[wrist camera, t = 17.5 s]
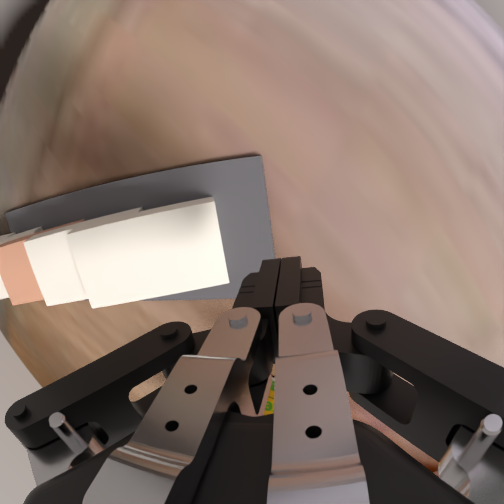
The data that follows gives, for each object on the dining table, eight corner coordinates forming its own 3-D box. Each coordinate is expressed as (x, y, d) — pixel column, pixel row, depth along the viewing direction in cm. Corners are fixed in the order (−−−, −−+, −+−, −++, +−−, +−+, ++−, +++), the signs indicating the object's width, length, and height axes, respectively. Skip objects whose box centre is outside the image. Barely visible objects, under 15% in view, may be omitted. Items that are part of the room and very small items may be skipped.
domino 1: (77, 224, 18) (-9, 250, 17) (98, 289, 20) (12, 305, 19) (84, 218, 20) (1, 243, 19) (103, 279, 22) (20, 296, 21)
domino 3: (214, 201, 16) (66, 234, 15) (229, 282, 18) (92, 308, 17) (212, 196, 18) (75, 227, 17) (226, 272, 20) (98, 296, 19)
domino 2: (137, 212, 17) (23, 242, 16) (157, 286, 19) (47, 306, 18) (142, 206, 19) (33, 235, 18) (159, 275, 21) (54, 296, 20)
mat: (261, 155, 17) (260, 155, 17) (279, 293, 20) (278, 296, 20) (8, 212, 22) (5, 213, 21) (36, 296, 25) (34, 298, 24)
